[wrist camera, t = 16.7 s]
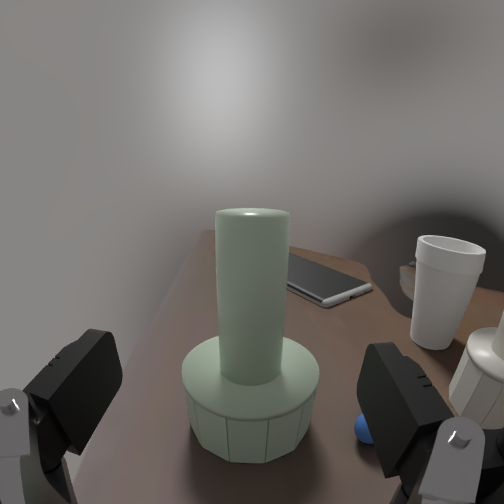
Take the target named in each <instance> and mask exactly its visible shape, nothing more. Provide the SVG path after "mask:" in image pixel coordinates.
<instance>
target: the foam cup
mask: <svg viewBox="0 0 504 504" xmlns="http://www.w3.org/2000/svg"><path fill="white" fill-rule="evenodd" d="M485 254H486V252H485V250H484V249H483V248H481V247H480V246H478V245H475V244H472V243H469V242H466V241H462V240H459V239H454V238H449V237H443V236H432V235H427V236H420V237H419V238H418V242H417V249H416V258H417V264H416V282H415V295H414V306H413V314H412V323H411V332H410V335H411V339H412V340H413V341H414V342H415V343H416V344H417V345H419V346H422V347H424V348H426V349H431V350H443V349H446V348H447V347H449V346H450V343H451V342H452V340H453V338H454V336H455V334H456V332H457V330H458V327H459V325H460V323H461V321H462V319H463V316H464V314H465V312H466V309H467V307H468V304H469V302H470V299H471V297H472V294H473V292H474V289H475V286H476V283H477V280H478V278H479V275H480V273H482V269H483V265H484V259H485Z"/></svg>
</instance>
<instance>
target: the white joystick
mask: <svg viewBox="0 0 504 504" xmlns="http://www.w3.org/2000/svg"><path fill="white" fill-rule="evenodd" d="M449 402H450V403H451V405H452V406H453V408H454V409H455V411H456V412H457V414H458V415H459V417H465V418H468V419H471V420H473V421H474V422H476V423H477V424H478V425H479V426H480V427H481V428H482V429H491V430H493V429H502V428H503V427H504V311H503V314H502V317H501V320H500V323H499V326H498V328H495V327H486V328H480V329H478V330H475V331H474V332H472V333H471V335H470V336H469V339H468V342H467V344H466V347H465V349H464V352H463V355H462V357H461V360H460V362H459V364H458V367H457V369H456V371H455V374H454V376H453V378H452V380H451V383H450V385H449Z"/></svg>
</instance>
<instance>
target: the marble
mask: <svg viewBox="0 0 504 504" xmlns="http://www.w3.org/2000/svg"><path fill="white" fill-rule="evenodd" d="M354 430H355V434H356V436H357V438H358V439H359V440H360V441H362V442H364V443H367V444H374V443H373V441H372V438H371V435H370V432H369V429H368V426H367V424H366V421H365V418H364V415H363V413H362V414H361V415H360V416H359V417H358V419H357V420H356V423H355V427H354Z"/></svg>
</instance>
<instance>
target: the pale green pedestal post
mask: <svg viewBox="0 0 504 504" xmlns="http://www.w3.org/2000/svg"><path fill="white" fill-rule="evenodd" d="M215 229H216V230H215V234H216V282H217V312H218V336H217V337H214V338H211V339H209V340H206V341H204V342H202V343H201V344H199V345H198V346H196V347H195V348H194V349H192V350H191V351H190V352H189V354H188V355H187V356H186V358H185V360H184V362H183V365H182V380H183V386H184V392H185V398H186V403H187V409H188V414H189V419H190V425H191V427H192V429H193V431H194V433H195V435H196V437H197V439H198V441H199V443H200V445H201V446H202V447H203V448H205V449H206V450H208V451H210V452H212V453H214V454H215V455H217V456H219V457H221V458H223V459H225V460H226V461H228V462H229V461H230V462H237V463H264V462H265V463H267V462H269V461H272V460H274V459H276V458H279V457H281V456H283V455H285V454H287V453H290V452H292V451H294V450H295V449H296V447H297V446H298V444H299V443H300V441H301V440H302V438H303V437H304V435H305V433H306V432H307V430H308V427H309V423H310V418H311V414H312V409H313V405H314V400H315V395H316V390H317V385H318V379H319V367H318V364H317V361H316V360H315V358H314V356H313V355H312V354H311V353H310V352H309V351H308V350H307V349H306V348H305V347H303V346H302V345H300V344H298V343H296V342H295V341H292V340H290V339H288V338H285V337H283V336H284V323H285V308H286V293H287V277H288V258H289V236H290V213H288V212H286V211H281V210H274V209H261V208H237V209H226V210H220V211H217V212H215Z"/></svg>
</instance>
